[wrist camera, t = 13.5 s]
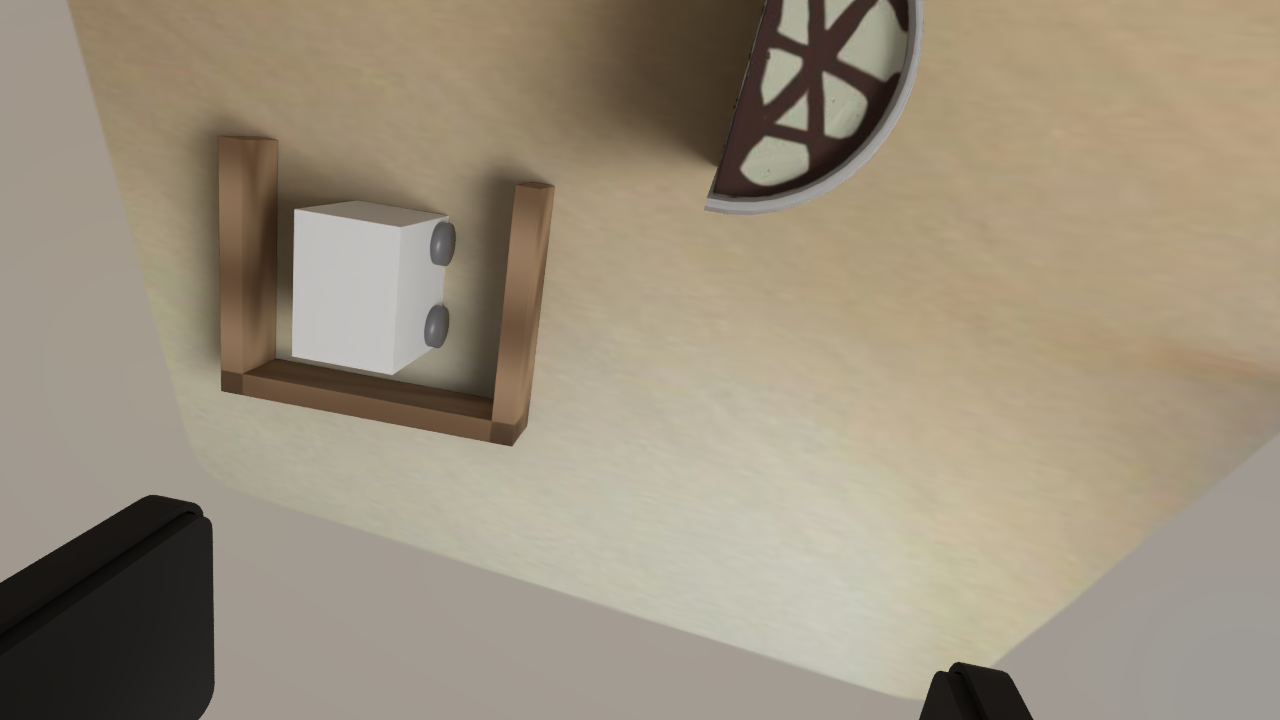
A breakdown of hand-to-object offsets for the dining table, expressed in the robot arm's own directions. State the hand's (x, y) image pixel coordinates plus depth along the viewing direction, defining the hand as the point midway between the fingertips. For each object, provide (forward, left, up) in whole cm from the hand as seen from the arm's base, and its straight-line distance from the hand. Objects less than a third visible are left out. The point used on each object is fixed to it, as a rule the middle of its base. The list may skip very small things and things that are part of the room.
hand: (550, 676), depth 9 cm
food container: (-10, +4, -30) cm, 32 cm away
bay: (+3, -15, -30) cm, 34 cm away
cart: (+2, -15, -30) cm, 34 cm away
